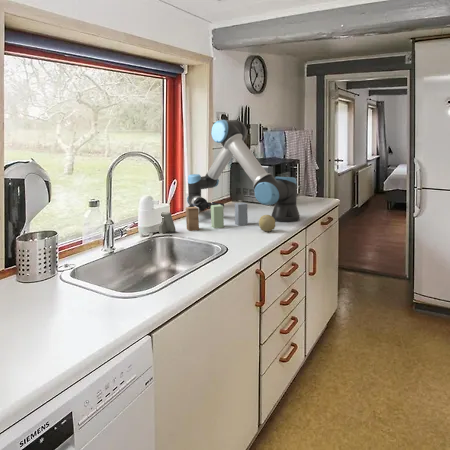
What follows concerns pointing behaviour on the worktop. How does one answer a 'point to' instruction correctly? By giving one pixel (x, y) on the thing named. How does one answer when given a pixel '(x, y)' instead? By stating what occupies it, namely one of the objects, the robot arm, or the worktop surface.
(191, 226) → the walnut block
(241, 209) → the slate grey block
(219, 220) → the sage green block
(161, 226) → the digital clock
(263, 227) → the potato
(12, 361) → the worktop surface
